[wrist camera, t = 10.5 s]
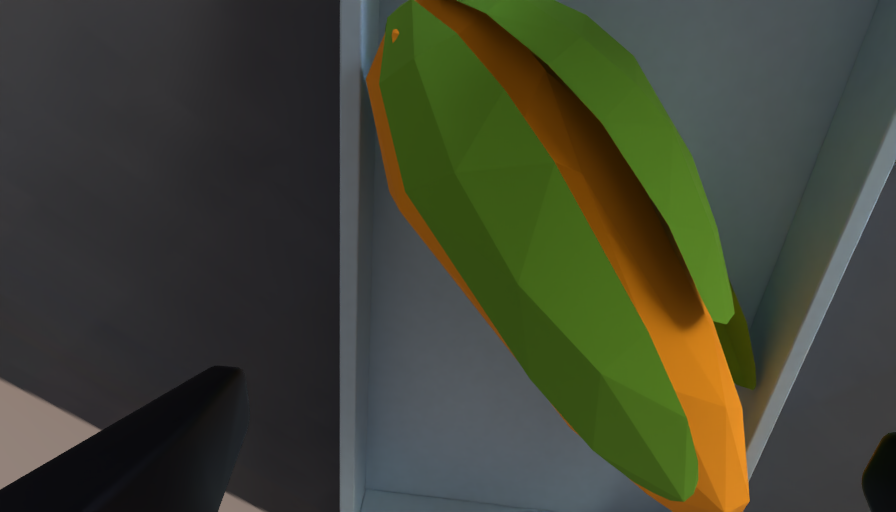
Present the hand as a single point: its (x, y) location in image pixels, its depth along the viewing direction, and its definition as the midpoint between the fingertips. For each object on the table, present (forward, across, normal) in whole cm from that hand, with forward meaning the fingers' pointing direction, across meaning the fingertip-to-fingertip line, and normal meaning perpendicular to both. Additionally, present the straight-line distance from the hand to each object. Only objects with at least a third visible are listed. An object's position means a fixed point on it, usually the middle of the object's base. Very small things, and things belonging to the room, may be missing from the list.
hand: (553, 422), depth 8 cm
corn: (+12, -3, +3) cm, 13 cm away
